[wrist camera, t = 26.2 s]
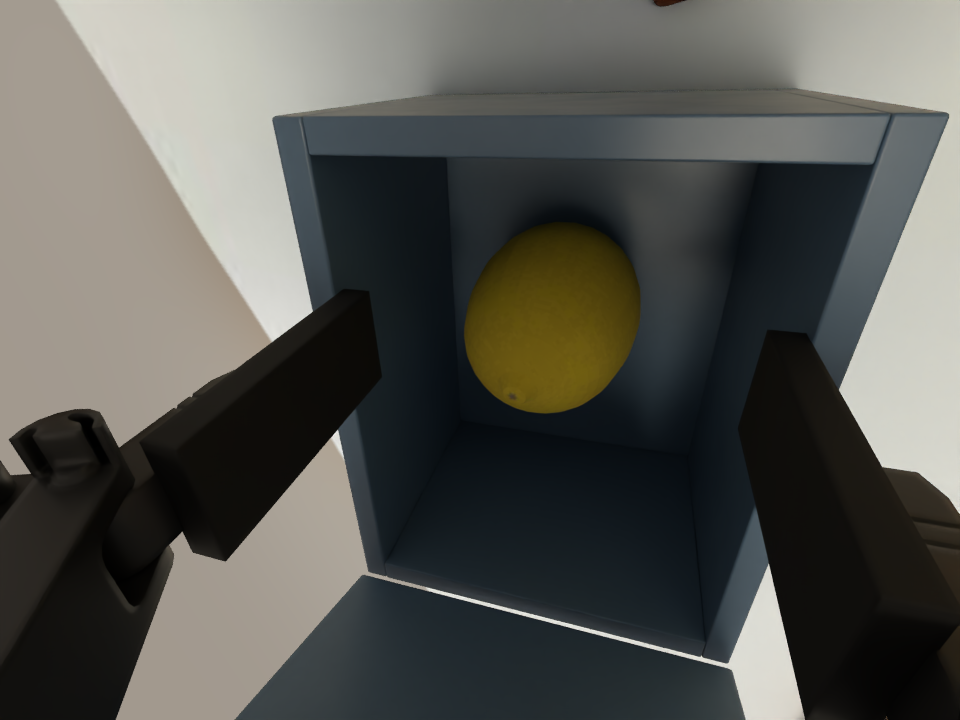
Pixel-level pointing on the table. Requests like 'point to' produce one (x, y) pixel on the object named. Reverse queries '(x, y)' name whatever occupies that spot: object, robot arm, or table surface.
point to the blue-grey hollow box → (657, 346)
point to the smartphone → (666, 2)
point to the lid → (478, 668)
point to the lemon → (552, 317)
